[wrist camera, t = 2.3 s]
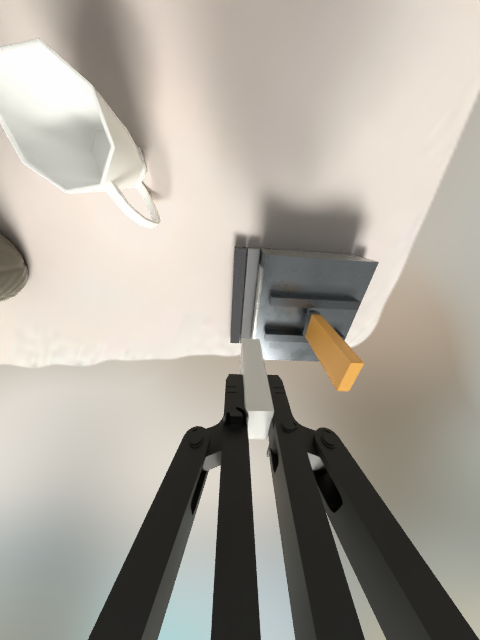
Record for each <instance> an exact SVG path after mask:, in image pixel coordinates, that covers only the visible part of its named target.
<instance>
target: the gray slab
mask: <svg viewBox="0 0 480 640" xmlns="http://www.w3.org/2000/svg"><path fill="white" fill-rule="evenodd" d="M259 253H260V249H259V248H250V247H247V260H246V247H235V254H234V276H233V298H232V319H231V342H230V343H239V340H240V342H241V343H242V338H243V339H250V333H251V324H252V315H253V306H254V297H255V288H256V279H257V270H258V262H259ZM245 262H246V273H245ZM244 275H245V285H244ZM243 288H244V298H243ZM242 301H243V311H242ZM241 314H242V323H241ZM240 327H241V336H240Z"/></svg>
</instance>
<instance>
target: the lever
mask: <svg viewBox="0 0 480 640" xmlns="http://www.w3.org/2000/svg"><path fill="white" fill-rule="evenodd" d="M303 335H304V336H305V338H306V339H307V341H308V343H309V344H310V346H311V348H312V349H313V351H314V353H315V355H316V356H317V358H318V360H319V361H320V363H321V365H322V366H323V368H324V370H325V371H326V373H327V375H328V376H329V378H330V380H331V381H332V383H333V385H334V387H335V388H336V390H337V391H349V390H350V388H351V387H352V385H353V383H354V381H355V379H356V377H357V375H358V374H359V372H360V370H361V368H362V367H363V365H364V362H363V361H362V360H361V359H360V358H359V357H358V356H357V355H356V354H355V352H354V351H353V350H352V349H351V348H350V347H349V346H348V345H347V343H346V342H345V341H344V340H343V339H342V338H341V337H340V336H339V335H338V333H337V332H336V331H335V330H334V329H333V328H332V327H331V326H330V325H329V323H328V322H327V321H326V320H325V319H324V318H323V317H322V316H321V315H320V312H318V311H315V310H309V313H308V316H307V320H306V323H305V327H304V330H303Z"/></svg>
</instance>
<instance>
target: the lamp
mask: <svg viewBox="0 0 480 640" xmlns="http://www.w3.org/2000/svg"><path fill="white" fill-rule="evenodd" d="M27 280H28V268H27V266H26V265H25V264H24V260H23V256H22V254H21V253H20V252H19V251H18V250H17V248H16V246H15V245H14V244H13V243H12V242H10V240H9V239H8V238H6V237H5V236H3V235H2V234H1V233H0V301H4V300H7V299H9V298H11V297H14V296H15V295H17V293H19V292H20V291H21V290H22V289H23V287H24V286H25V285H26V283H27Z"/></svg>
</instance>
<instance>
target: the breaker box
mask: <svg viewBox="0 0 480 640" xmlns="http://www.w3.org/2000/svg"><path fill="white" fill-rule="evenodd" d="M378 263H379V262H376V261H373V260H370V259H366V258H363V257H359V256H356V255H353V254H341V253H326V252H311V251H295V250H280V249H265V248H260V253H259V262H258V271H257V280H256V289H255V298H254V307H253V316H252V325H251V334H250V339H260V344H261V349H262V354H263V359H264V360H293V361H319V360H318V358H317V356H316V355H315V353H314V351H313V349H312V348H311V346H310V344H309V343H308V341H307V339H306V338H305V336H304V335H303V330H304V327H305V323H306V320H307V316H308V313H309V310H315V311H318V312H320V315H321V316H322V317H323V318H324V319H325V320H326V321H327V322H328V323H329V325H330V326H331V327H332V328H333V329H334V330H335V331H336V332H337V333H338V335H339V336H340V337H341V338H342V339H343V340H345V338H346V336H347V333H348V331H349V329H350V327H351V324H352V322H353V320H354V317H355V315H356V313H357V311H358V308H359V306H360V304H361V301H362V299H363V297H364V295H365V292H366V290H367V288H368V285H369V283H370V281H371V279H372V276H373V274H374V272H375V270H376V267H377V265H378Z"/></svg>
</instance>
